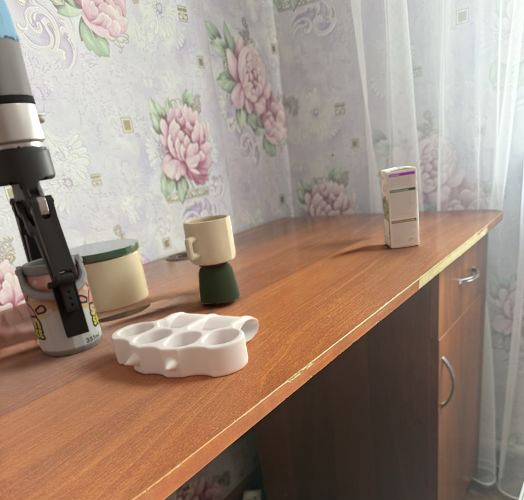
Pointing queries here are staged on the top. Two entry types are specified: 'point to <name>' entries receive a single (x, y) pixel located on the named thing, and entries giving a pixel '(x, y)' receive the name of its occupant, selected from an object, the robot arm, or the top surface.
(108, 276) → the jar
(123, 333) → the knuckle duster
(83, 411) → the top surface
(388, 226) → the syrup box
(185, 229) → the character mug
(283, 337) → the top surface
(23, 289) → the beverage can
